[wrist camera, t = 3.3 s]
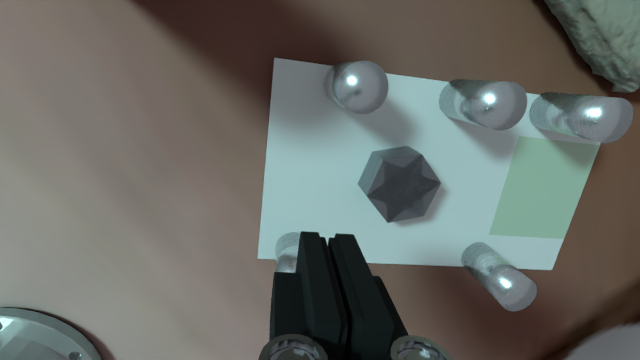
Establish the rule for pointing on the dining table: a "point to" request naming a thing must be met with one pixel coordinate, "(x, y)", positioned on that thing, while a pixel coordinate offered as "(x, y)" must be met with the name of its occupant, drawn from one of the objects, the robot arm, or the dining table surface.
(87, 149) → the dining table surface
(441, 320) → the dining table surface
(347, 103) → the spacers
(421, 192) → the grey faceted hexagonal block
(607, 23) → the elongated rock
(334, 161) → the board
